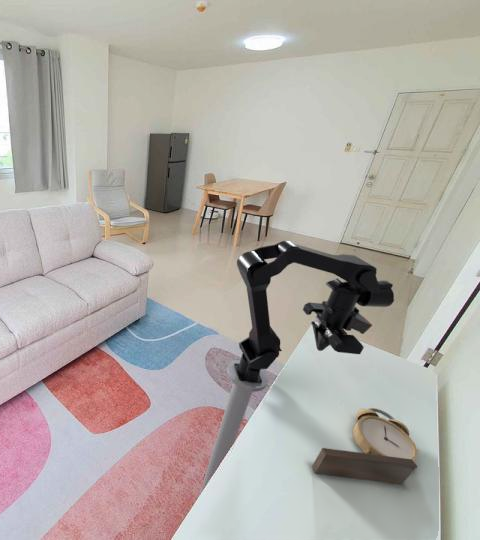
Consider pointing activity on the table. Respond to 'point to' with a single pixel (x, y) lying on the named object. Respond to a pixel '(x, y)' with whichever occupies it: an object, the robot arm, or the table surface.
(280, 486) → the table surface
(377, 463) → the shelf back
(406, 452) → the alarm clock
